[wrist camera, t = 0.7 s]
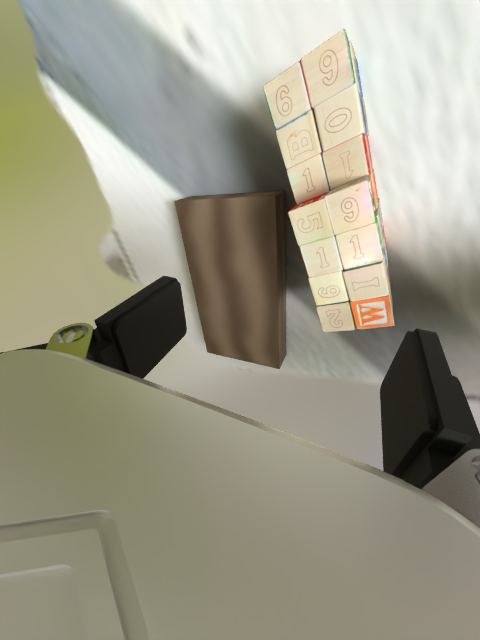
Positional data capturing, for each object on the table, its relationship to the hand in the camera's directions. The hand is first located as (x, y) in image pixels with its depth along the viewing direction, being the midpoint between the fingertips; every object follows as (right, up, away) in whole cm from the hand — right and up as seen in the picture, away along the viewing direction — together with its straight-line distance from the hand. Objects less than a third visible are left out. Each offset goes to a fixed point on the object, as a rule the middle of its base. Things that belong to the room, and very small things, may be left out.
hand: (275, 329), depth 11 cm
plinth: (-1, +6, +30) cm, 31 cm away
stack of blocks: (+11, +15, +18) cm, 26 cm away
